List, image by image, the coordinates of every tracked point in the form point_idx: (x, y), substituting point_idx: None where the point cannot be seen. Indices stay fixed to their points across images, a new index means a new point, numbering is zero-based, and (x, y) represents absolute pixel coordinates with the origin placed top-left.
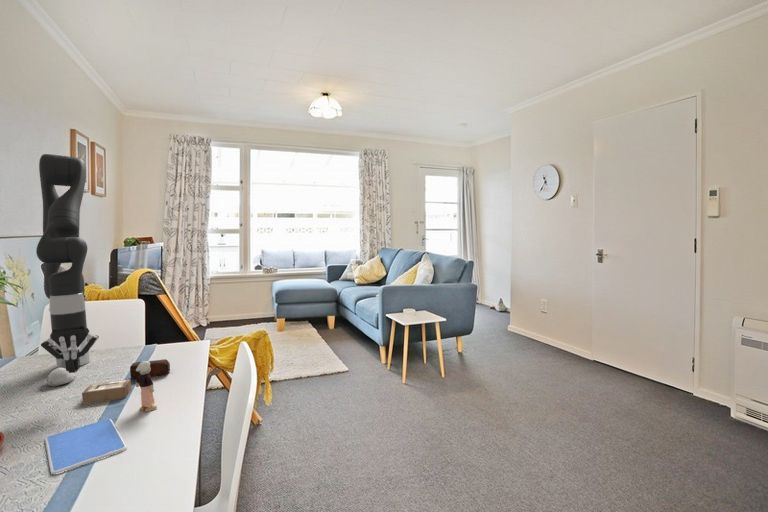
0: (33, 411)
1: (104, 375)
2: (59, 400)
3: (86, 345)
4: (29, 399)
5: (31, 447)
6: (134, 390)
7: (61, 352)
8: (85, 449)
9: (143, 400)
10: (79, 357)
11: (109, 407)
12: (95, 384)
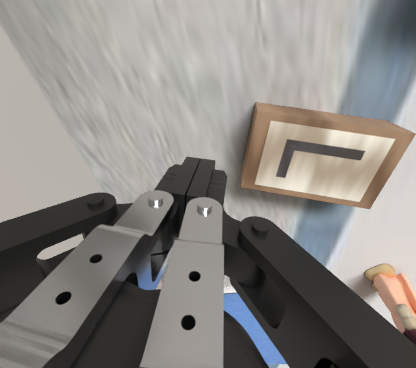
0: (128, 150)
1: None
2: (165, 94)
3: (292, 361)
4: (54, 16)
5: None
6: None
7: (89, 227)
8: (269, 347)
9: (384, 300)
10: (223, 214)
11: (305, 227)
12: (277, 123)
